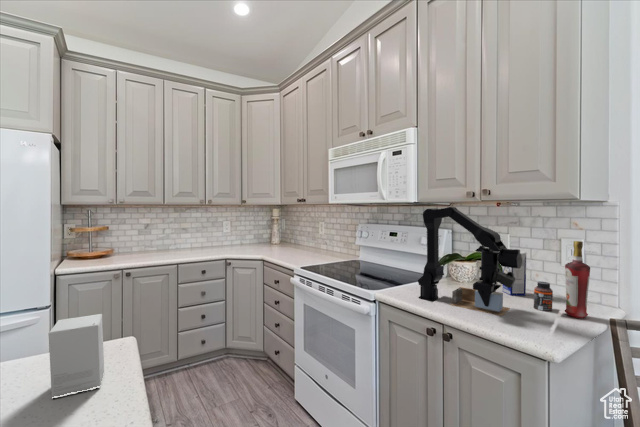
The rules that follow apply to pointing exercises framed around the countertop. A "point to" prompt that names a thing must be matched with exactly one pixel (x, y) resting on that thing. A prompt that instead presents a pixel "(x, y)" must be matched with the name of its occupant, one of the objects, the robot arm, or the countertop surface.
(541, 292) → the supplement bottle
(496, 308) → the grey rectangular block
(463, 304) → the shelf
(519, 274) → the milk carton
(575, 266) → the liquor
